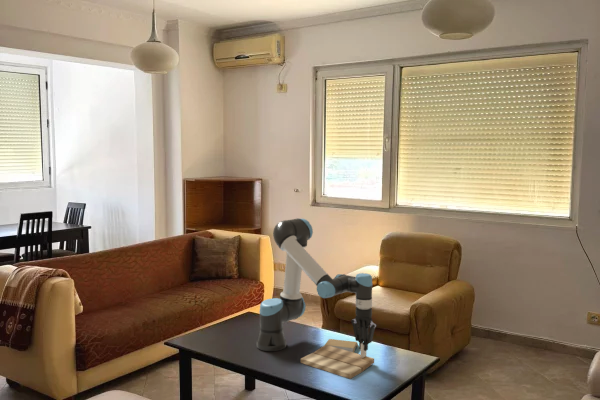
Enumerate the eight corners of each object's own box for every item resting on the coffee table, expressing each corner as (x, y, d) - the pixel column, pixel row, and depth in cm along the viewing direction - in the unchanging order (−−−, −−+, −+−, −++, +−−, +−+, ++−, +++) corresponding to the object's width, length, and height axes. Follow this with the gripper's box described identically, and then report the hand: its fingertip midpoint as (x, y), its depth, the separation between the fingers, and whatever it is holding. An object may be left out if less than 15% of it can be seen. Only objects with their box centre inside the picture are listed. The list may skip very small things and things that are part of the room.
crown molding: (352, 356, 255) (352, 349, 255) (323, 353, 260) (323, 346, 260) (358, 346, 269) (358, 340, 268) (330, 343, 273) (330, 337, 273)
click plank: (313, 356, 254) (313, 352, 254) (325, 348, 262) (325, 344, 261) (362, 371, 236) (362, 367, 236) (374, 362, 244) (374, 358, 244)
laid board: (300, 362, 246) (300, 358, 246) (312, 356, 254) (312, 352, 254) (350, 378, 229) (350, 374, 229) (362, 371, 236) (362, 367, 236)
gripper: (347, 306, 245) (347, 355, 247) (371, 311, 237) (371, 362, 239) (356, 303, 251) (356, 351, 253) (380, 307, 242) (379, 357, 244)
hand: (363, 356), depth 246 cm, fingers closed
